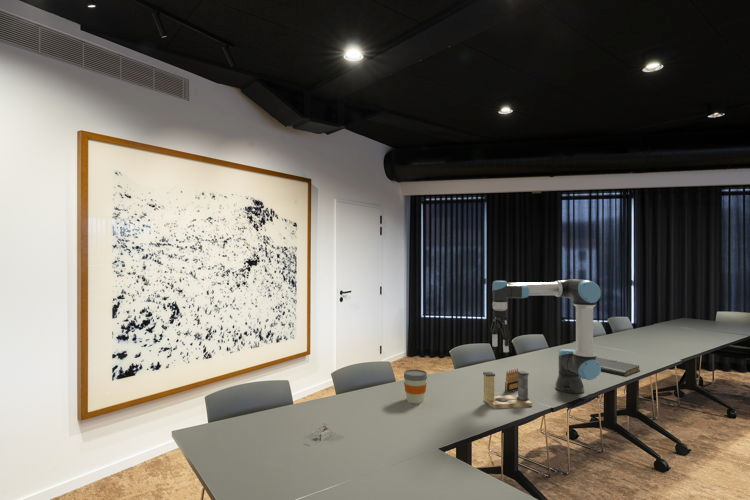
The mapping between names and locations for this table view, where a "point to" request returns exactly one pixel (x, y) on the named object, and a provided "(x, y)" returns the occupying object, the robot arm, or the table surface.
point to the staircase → (323, 432)
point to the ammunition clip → (511, 380)
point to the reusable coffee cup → (415, 385)
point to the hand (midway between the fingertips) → (500, 349)
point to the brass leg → (489, 386)
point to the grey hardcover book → (617, 367)
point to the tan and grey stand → (514, 400)
